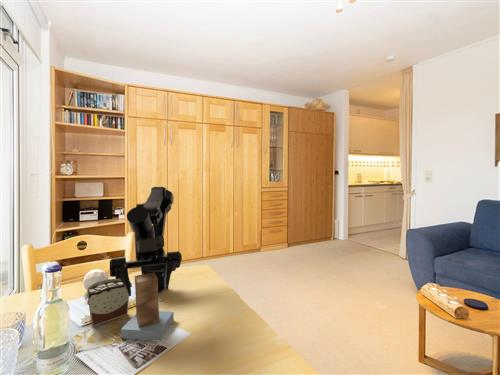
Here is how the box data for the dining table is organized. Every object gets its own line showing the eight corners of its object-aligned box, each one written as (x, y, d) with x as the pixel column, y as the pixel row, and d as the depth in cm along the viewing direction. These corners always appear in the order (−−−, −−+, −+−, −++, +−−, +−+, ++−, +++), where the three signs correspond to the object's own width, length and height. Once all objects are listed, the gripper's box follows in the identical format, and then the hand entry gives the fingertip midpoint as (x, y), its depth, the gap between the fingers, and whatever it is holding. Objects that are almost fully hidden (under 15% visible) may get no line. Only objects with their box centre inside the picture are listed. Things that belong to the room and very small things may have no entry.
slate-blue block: (121, 340, 71) (121, 329, 71) (140, 319, 81) (140, 309, 81) (159, 343, 70) (159, 331, 70) (173, 321, 80) (173, 311, 80)
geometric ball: (92, 301, 97) (76, 288, 92) (93, 285, 103) (79, 272, 99) (112, 289, 98) (98, 275, 94) (112, 274, 105) (99, 260, 100)
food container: (124, 305, 88) (124, 274, 88) (132, 312, 84) (132, 280, 83) (80, 319, 80) (79, 285, 79) (86, 328, 75) (85, 292, 75)
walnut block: (139, 328, 71) (137, 282, 70) (136, 318, 76) (134, 275, 75) (159, 322, 74) (157, 278, 73) (155, 313, 78) (154, 272, 77)
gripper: (109, 228, 74) (108, 285, 64) (180, 224, 82) (189, 273, 72) (110, 250, 81) (110, 303, 72) (175, 244, 89) (182, 291, 80)
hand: (149, 292), depth 74 cm, fingers open, 9 cm apart
